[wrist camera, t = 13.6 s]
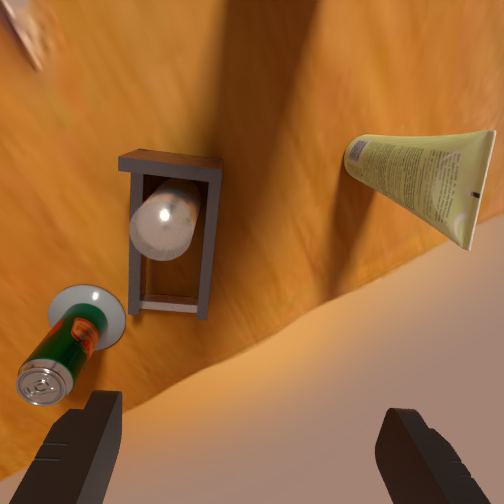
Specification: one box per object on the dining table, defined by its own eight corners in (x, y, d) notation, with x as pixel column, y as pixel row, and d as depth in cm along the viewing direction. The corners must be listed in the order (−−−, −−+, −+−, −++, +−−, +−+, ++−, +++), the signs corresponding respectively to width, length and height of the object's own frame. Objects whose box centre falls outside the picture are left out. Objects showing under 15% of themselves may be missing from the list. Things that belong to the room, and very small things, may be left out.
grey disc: (48, 281, 43) (45, 283, 42) (126, 287, 44) (125, 290, 43) (52, 345, 46) (50, 348, 45) (125, 350, 47) (124, 353, 46)
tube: (398, 162, 41) (539, 200, 22) (362, 193, 42) (470, 253, 23) (369, 123, 39) (496, 129, 21) (332, 156, 40) (423, 189, 22)
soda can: (116, 329, 45) (79, 400, 34) (78, 341, 45) (29, 416, 34) (97, 295, 43) (52, 358, 32) (58, 308, 43) (-1, 375, 32)
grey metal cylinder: (156, 174, 39) (129, 198, 28) (203, 180, 40) (194, 205, 29) (155, 219, 41) (128, 257, 30) (199, 223, 41) (190, 263, 30)
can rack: (139, 148, 38) (118, 156, 31) (223, 159, 39) (222, 169, 32) (135, 299, 44) (117, 336, 37) (207, 305, 45) (204, 343, 38)
